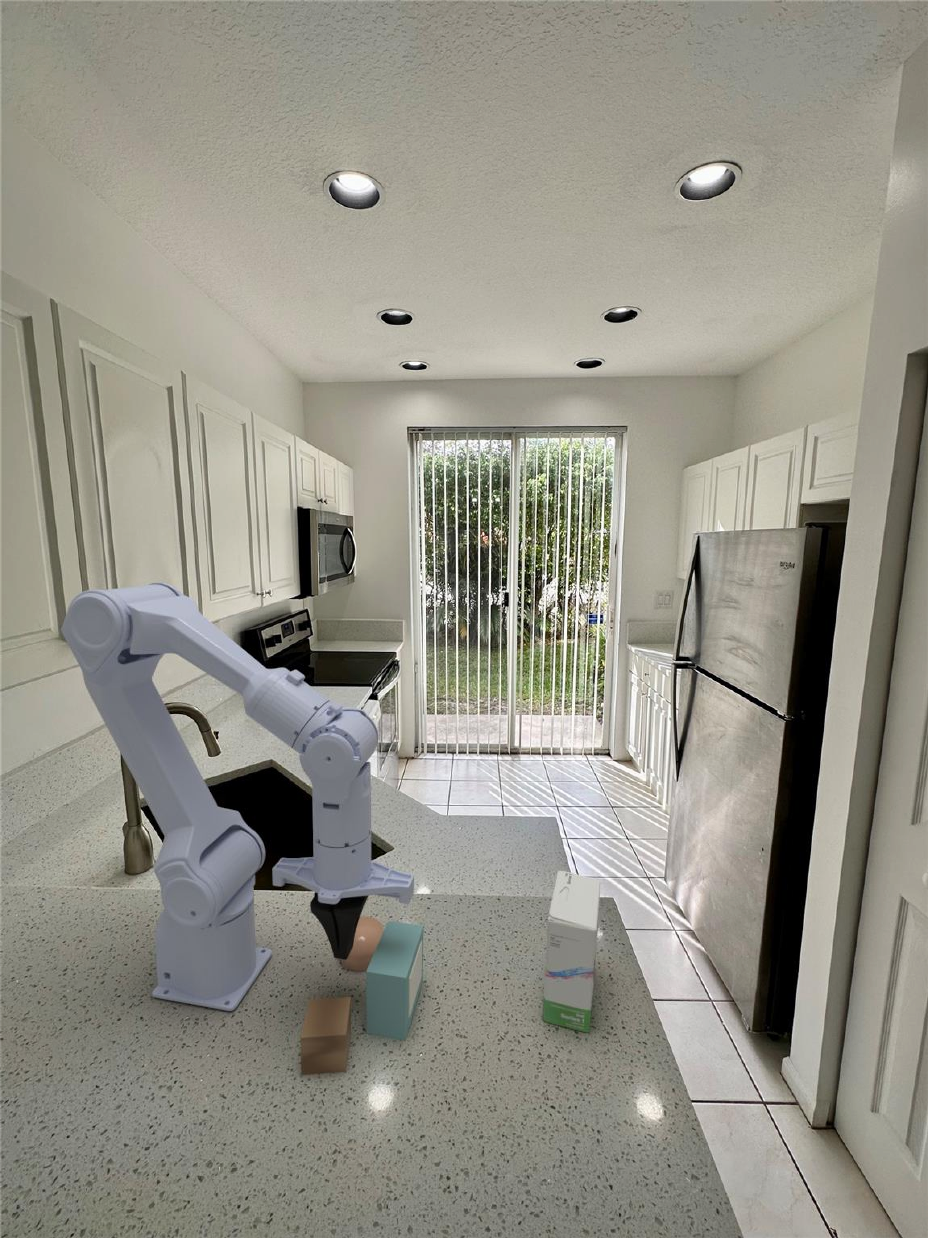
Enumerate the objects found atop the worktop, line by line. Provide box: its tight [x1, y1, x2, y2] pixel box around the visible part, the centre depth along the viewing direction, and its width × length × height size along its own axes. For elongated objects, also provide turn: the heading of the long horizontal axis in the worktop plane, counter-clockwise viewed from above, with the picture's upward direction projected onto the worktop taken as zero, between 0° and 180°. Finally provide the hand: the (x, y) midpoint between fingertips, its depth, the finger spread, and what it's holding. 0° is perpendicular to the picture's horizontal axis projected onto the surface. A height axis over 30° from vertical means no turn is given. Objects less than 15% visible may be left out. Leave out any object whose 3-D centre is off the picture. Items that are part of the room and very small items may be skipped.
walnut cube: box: [300, 996, 352, 1076], centre depth 50 cm, size 4×4×4 cm
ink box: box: [542, 870, 601, 1033], centre depth 56 cm, size 8×5×12 cm, turn 163°
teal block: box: [365, 920, 424, 1042], centre depth 55 cm, size 4×7×7 cm, turn 171°
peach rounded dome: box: [339, 915, 384, 972], centre depth 62 cm, size 5×5×3 cm
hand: (343, 951), depth 55 cm, fingers closed
